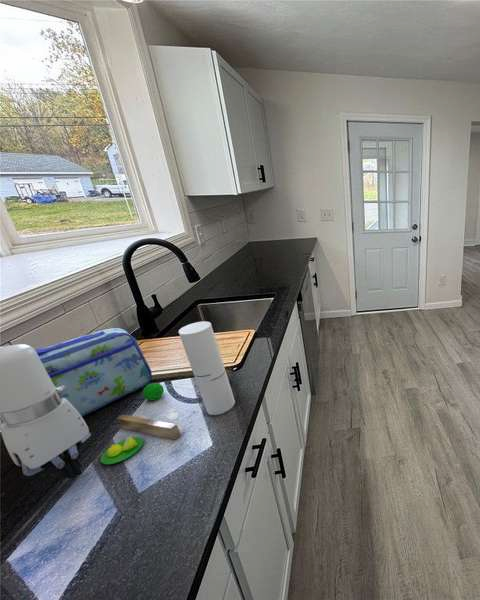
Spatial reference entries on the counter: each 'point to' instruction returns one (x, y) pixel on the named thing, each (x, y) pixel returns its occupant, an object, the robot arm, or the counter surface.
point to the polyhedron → (153, 391)
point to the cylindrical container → (207, 367)
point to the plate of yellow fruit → (121, 450)
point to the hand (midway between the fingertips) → (72, 474)
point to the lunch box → (96, 368)
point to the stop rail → (149, 426)
